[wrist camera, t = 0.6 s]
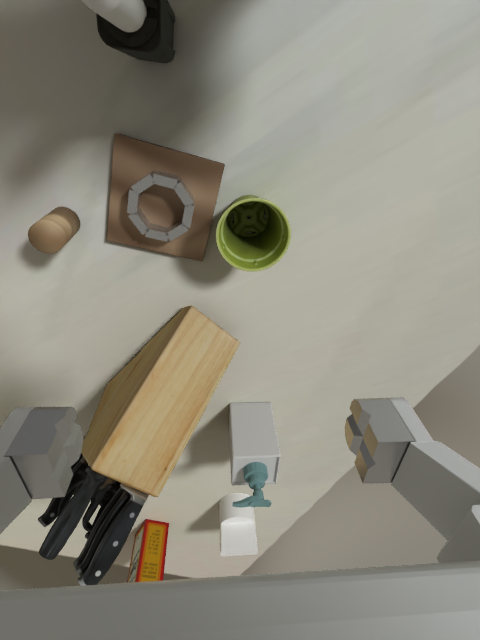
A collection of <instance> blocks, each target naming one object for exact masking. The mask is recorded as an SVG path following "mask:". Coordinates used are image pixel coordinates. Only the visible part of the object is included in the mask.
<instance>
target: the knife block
mask: <svg viewBox="0 0 480 640" xmlns="http://www.w3.org/2000/svg"><path fill="white" fill-rule="evenodd" d="M239 344H240V342H239V341H238V340H237V339H235V338H233V337H232V336H231V335H229V334H228V333H227V332H225V331H224V330H223V329H222V328H220V327H219V326H218V325H216V324H215V323H214V322H213V321H211V320H210V319H209V318H207V317H206V316H205V315H203V314H202V313H201V312H199V311H198V310H197V309H195V308H194V307H193V306H188V307H184V308H183V309H182V310H181V311H180V312H179V313H178V314H177V315H176V316H175V317H173V318H172V319H171V320H170V321H169V322H168V323H167V324H166V325H165V326H164V327H163V328H162V329H161V330H160V331H159V332H158V333H157V334H156V335H155V336H154V337H153V338H152V339H151V340H150V341H149V342H148V343H147V344H146V345H145V346H144V347H143V348H142V350H141V351H140V353H139V354H138V355H137V356H136V357H135V358H133V359H132V360H131V361H130V362H129V363H128V364H127V365H126V366H125V367H124V368H123V369H122V370H121V371H120V372H119V373H118V374H117V375H116V376H115V377H114V378H113V379H112V380H111V381H110V382H109V383H108V384H107V386H106V388H105V391H104V393H103V395H102V398H101V400H100V403H99V405H98V408H97V410H96V413H95V415H94V417H93V420H92V422H91V425H90V427H89V431H88V432H87V433H86V435H85V436H84V438H83V446H82V451H81V454H80V457H79V460H78V461H77V462H75V463H74V464H73V465H72V466H71V469H72V472H73V476H72V479H71V482H70V484H69V487H68V490H67V492H66V495H65V497H56V498H53V499H52V501H51V503H50V505H49V506H48V508H47V510H46V511H45V513H44V514H43V515H42V516H40V517H39V518H38V521H39V522H40V523H41V524H42V525H43V526H44V527H46V526H48V525H49V524H50V523H52V522H53V521H54V520H55V519H56V518H57V517H58V518H57V519H56V521H55V522H54V524H53V526H52V527H51V529H50V531H49V533H48V535H47V536H46V538H45V540H44V542H43V544H42V546H41V548H40V550H39V553H40V555H41V556H42V557H44V558H46V559H49V560H52V559H54V558H55V557H56V556H57V555H58V553H59V552H60V551H61V549H62V548H63V547H64V545H65V543H66V541H67V540H68V538H69V537H70V535H71V534H72V533H73V531H74V529H75V528H76V526H77V524H78V523H79V521H80V519H81V517H82V515H83V514H84V512H85V509H86V508H87V506H88V504H89V502H90V500H91V504H90V506H89V507H88V509H87V511H86V513H85V515H84V517H83V522H82V523H83V527H84V529H85V530H86V531H88V532H87V533H86V535H85V538H87V539H88V540H87V542H86V544H85V547H84V549H83V550H82V552H81V554H80V555H79V557H78V558H77V559H76V560H75V561H74V563H73V565H74V567H75V568H76V572H77V574H78V575H79V576H80V578H78V583H79V584H80V586H85V585H97V583H98V582H99V581H100V580H101V579H102V578H103V576H104V575H105V574H106V572H107V571H108V570H109V568H110V567H111V565H112V564H113V562H114V561H115V559H116V558H117V556H118V554H119V553H120V551H121V549H122V547H123V545H124V544H125V542H126V540H127V537H128V535H129V533H130V531H131V529H132V527H133V525H134V523H135V521H136V519H137V517H138V515H139V513H140V511H141V509H142V507H143V505H144V503H145V502H146V500H147V498H148V496H149V495H152V496H154V497H158V496H159V494H160V493H161V491H162V489H163V487H164V485H165V483H166V482H167V480H168V478H169V476H170V474H171V472H172V470H173V469H174V467H175V465H176V463H177V461H178V459H179V458H180V456H181V454H182V452H183V450H184V448H185V447H186V445H187V443H188V441H189V439H190V437H191V435H192V433H193V431H194V430H195V428H196V426H197V424H198V422H199V420H200V418H201V416H202V414H203V413H204V411H205V409H206V407H207V405H208V403H209V401H210V399H211V397H212V396H213V394H214V392H215V390H216V388H217V386H218V384H219V382H220V380H221V378H222V376H223V374H224V373H225V371H226V369H227V367H228V365H229V363H230V361H231V359H232V358H233V356H234V354H235V352H236V350H237V348H238V346H239ZM88 464H89V466H88ZM72 495H74V496H73V497H72ZM71 497H72V498H71ZM69 500H70V501H69ZM98 505H100V506H101V508H100V509H99V512H98V514H97V516H96V518H95V520H94V522H93V525H91V524H90V523H89V520H90V518H91V516H92V515H93V513H94V512H95V510H96V508H97V507H98Z"/></svg>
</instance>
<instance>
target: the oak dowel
mask: <svg viewBox="0 0 480 640" xmlns="http://www.w3.org/2000/svg"><path fill="white" fill-rule="evenodd" d="M79 228H80V220H79V217H78V216H77V214H76V213H75V212H74V211H72V210H71V209H69V208H66V207H58V208H55V209H54V210H52V211H51V212H50V213H48V214H47V215H46V216H44V217H43V218H42V219H40V220H39V221H38V222H36V223H35V224H33V225H32V226H31V227H30V229H29V231H28V237H29V240H30V242H31V244H32V245H33V246H34V247H35V248H36V249H37V250H39V251H41V252H43V253H48V254H52V253H56V252H58V251H59V250H60V249H61V248H62V247H63V246H64V245H65V244H66V243H67V242H68V241H69V240H70V239H71V238H72V237H73V236H74V235H75V234H76V233H77V231H78V230H79Z"/></svg>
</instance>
